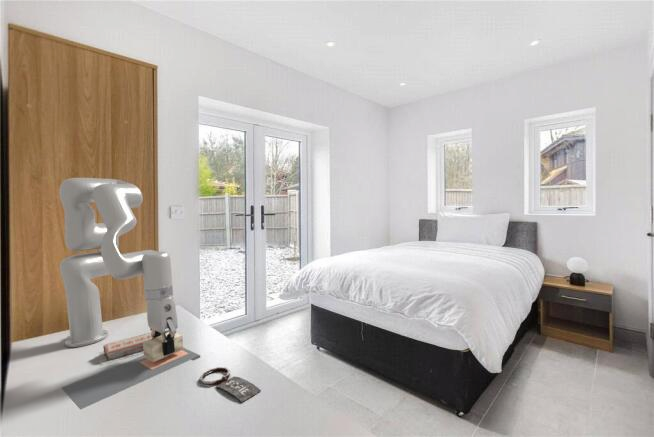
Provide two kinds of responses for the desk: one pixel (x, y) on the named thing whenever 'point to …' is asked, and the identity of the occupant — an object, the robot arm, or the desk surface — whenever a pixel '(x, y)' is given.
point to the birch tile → (160, 347)
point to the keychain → (231, 384)
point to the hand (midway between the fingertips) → (163, 350)
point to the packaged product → (123, 349)
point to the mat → (122, 377)
